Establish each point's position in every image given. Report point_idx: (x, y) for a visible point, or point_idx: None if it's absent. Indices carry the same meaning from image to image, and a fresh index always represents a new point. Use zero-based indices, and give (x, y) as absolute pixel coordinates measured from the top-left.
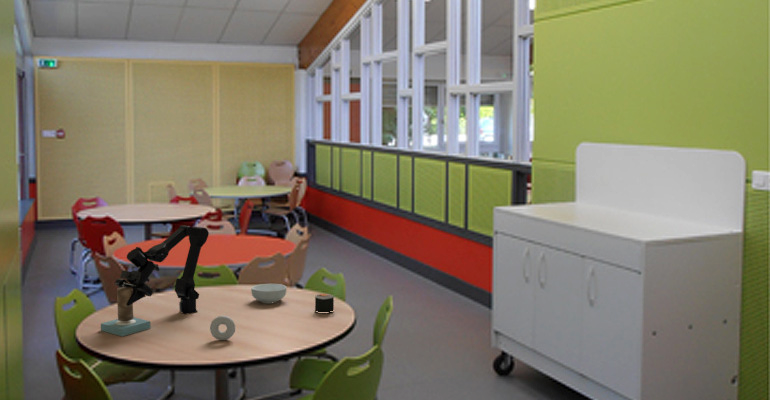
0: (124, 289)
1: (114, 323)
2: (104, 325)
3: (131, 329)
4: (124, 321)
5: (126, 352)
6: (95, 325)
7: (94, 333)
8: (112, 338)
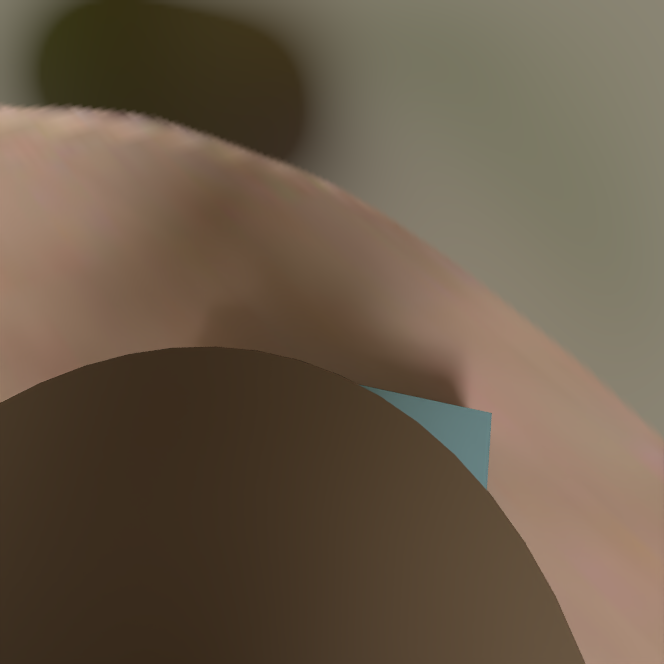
0: (40, 583)
1: None
2: (432, 403)
3: None
4: None
5: (19, 159)
6: (640, 531)
7: (452, 351)
8: (251, 311)
